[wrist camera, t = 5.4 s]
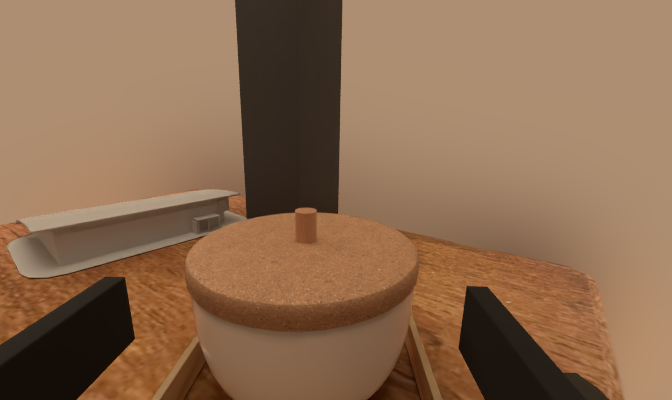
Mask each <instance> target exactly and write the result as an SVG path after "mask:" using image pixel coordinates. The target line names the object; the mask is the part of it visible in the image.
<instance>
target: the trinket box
mask: <svg viewBox="0 0 672 400" xmlns="http://www.w3.org/2000/svg"><path fill="white" fill-rule="evenodd" d="M418 268H419V256H418V252H417V250H416V248H415V246H414V245H413V243H412V242H411V241H410V240H409V239H408V238H407V237H406V236H404V235H403V234H402V233H400V232H399V231H397V230H395V229H393V228H391V227H389V226H386V225H384V224H381V223H378V222H375V221H372V220H368V219H364V218H360V217H355V216H348V215H342V214H334V213H317V210H316V209H314V208H298V209H296V210H295V213H283V214H275V215H268V216H261V217H256V218H252V219H248V220H244V221H240V222H236V223H233V224H230V225H228V226H225V227H222V228H220V229H218V230H216V231H214V232H211V233H210V234H208V235H207V236H205V237H203V238H202V239H201V240H199V241H198V242H197V243H196V244H195V245H194V246H193V247H192V249H191V250H190V252H189V253H188V255H187V257H186V260H185V276H186V284H187V288H188V290H189V293H190V295H191V300H192V309H193V316H194V322H195V328H196V332H197V336H198V339H199V343H200V346H201V349H202V352H203V354H204V357H205V359H206V361H207V364H208V366H209V368H210V370H211V373H212V375H213V376H214V377H215V379H216V380H217V381H218V383H219V384H220V385H221V387H222V388H223V389H224V391H225V392H226V393H227V395H228V396H230V397H231V398H232V399H233V400H367V399H369V398H370V397H371V396H372V395H373V394H374V393H375V392H376V391H377V390H378V389H379V388H380V387H381V386H382V384H383V383H384V382H385V380H386V379H387V377H388V376H389V374H390V373H391V371H392V370H393V368H394V366H395V364H396V362H397V360H398V357H399V355H400V352H401V350H402V347H403V345H404V342H405V338H406V334H407V330H408V326H409V322H410V316H411V310H412V302H413V294H414V286H415V285H416V281H417V275H418Z"/></svg>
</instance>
